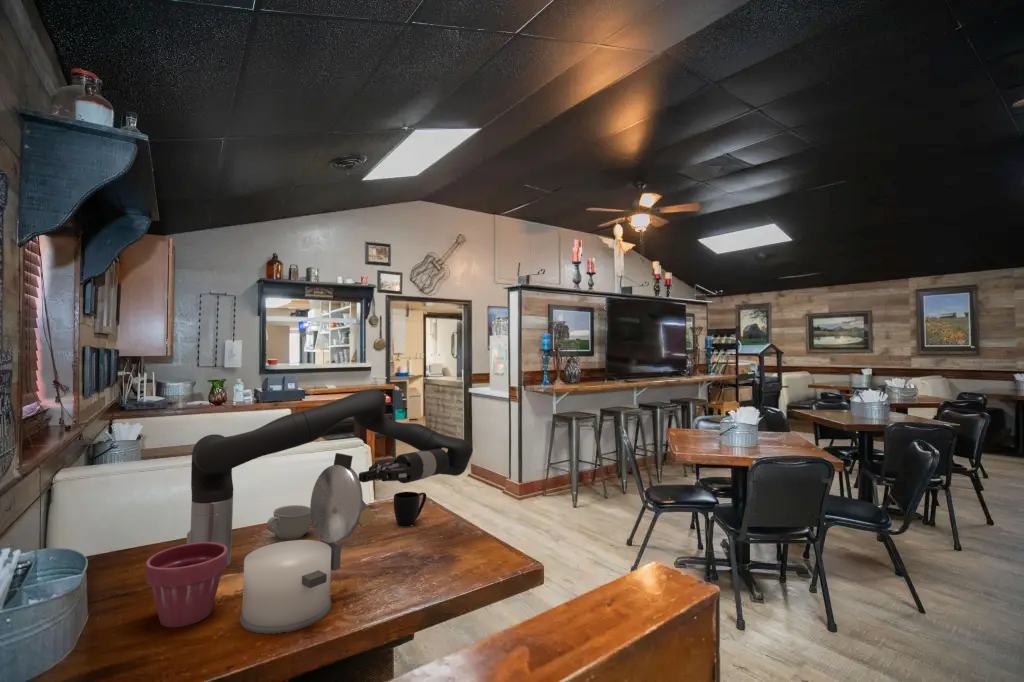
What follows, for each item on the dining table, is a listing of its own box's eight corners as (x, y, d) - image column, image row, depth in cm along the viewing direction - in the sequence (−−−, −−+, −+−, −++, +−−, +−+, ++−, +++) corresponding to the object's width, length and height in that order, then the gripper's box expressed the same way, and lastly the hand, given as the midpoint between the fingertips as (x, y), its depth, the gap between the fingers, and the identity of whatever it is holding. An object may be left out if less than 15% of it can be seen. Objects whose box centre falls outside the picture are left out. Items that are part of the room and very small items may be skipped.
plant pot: (134, 641, 96) (137, 572, 96) (153, 607, 109) (155, 546, 109) (221, 626, 101) (223, 561, 102) (229, 595, 114) (231, 538, 115)
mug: (433, 521, 168) (433, 492, 168) (403, 530, 159) (403, 499, 159) (417, 516, 173) (418, 488, 174) (388, 524, 165) (388, 494, 165)
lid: (362, 459, 113) (370, 459, 115) (319, 449, 123) (327, 450, 125) (347, 550, 110) (355, 549, 111) (304, 533, 120) (312, 532, 122)
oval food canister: (273, 649, 94) (275, 583, 94) (219, 610, 108) (221, 553, 108) (361, 609, 109) (363, 552, 110) (304, 579, 123) (306, 529, 123)
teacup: (298, 528, 160) (299, 502, 160) (318, 535, 153) (319, 508, 154) (254, 540, 148) (255, 512, 149) (274, 549, 142) (275, 520, 142)
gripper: (399, 449, 140) (344, 458, 127) (432, 455, 132) (378, 466, 119) (398, 476, 140) (344, 488, 126) (432, 484, 132) (377, 498, 118)
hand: (360, 477), depth 123 cm, fingers closed
